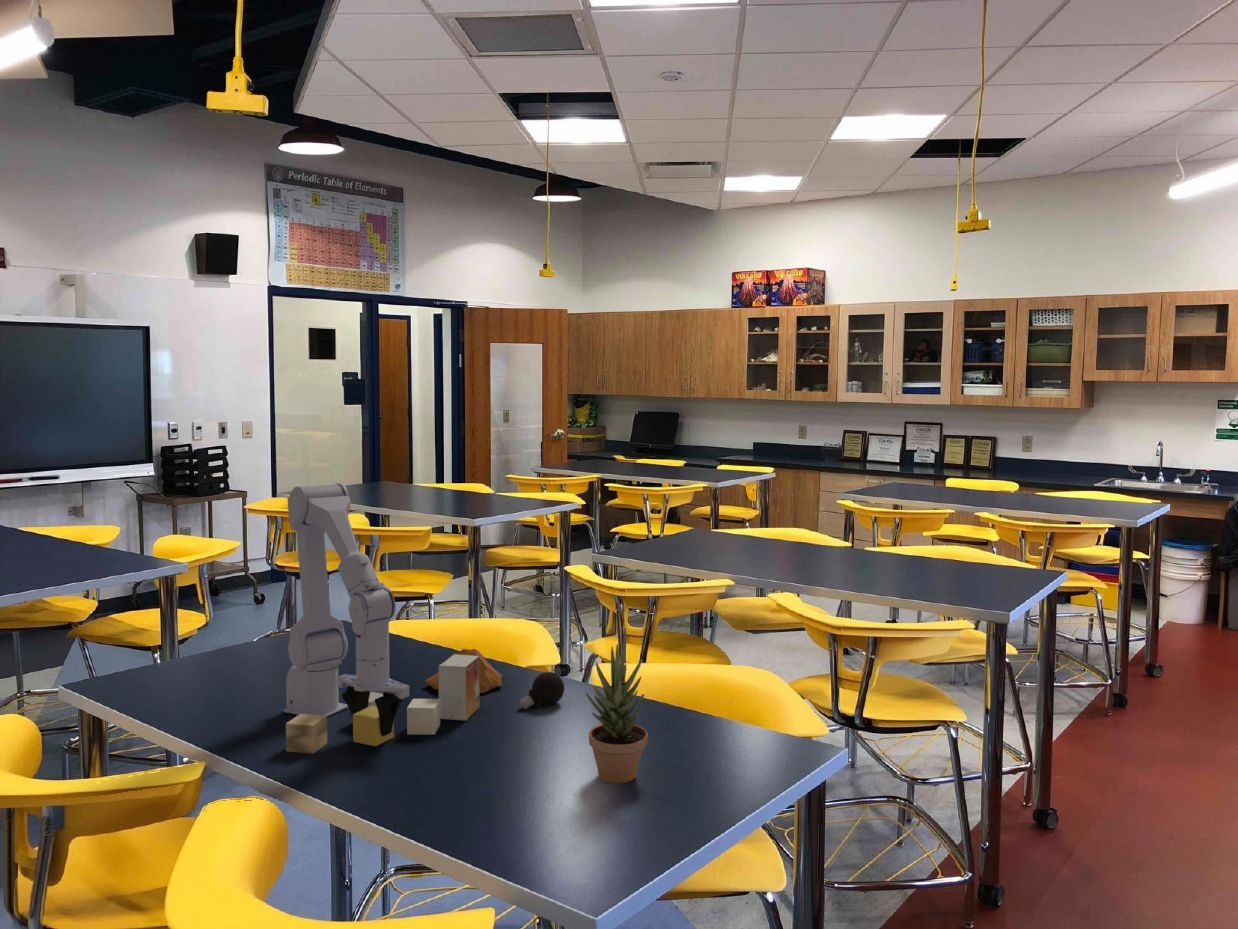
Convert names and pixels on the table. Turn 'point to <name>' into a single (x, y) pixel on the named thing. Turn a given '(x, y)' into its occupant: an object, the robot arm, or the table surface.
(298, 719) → the maple cube
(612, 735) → the potted plant
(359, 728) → the mustard cube
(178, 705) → the table surface
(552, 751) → the table surface
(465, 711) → the small box
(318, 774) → the table surface
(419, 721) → the white cube
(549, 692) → the light bulb
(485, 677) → the stone
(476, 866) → the table surface
